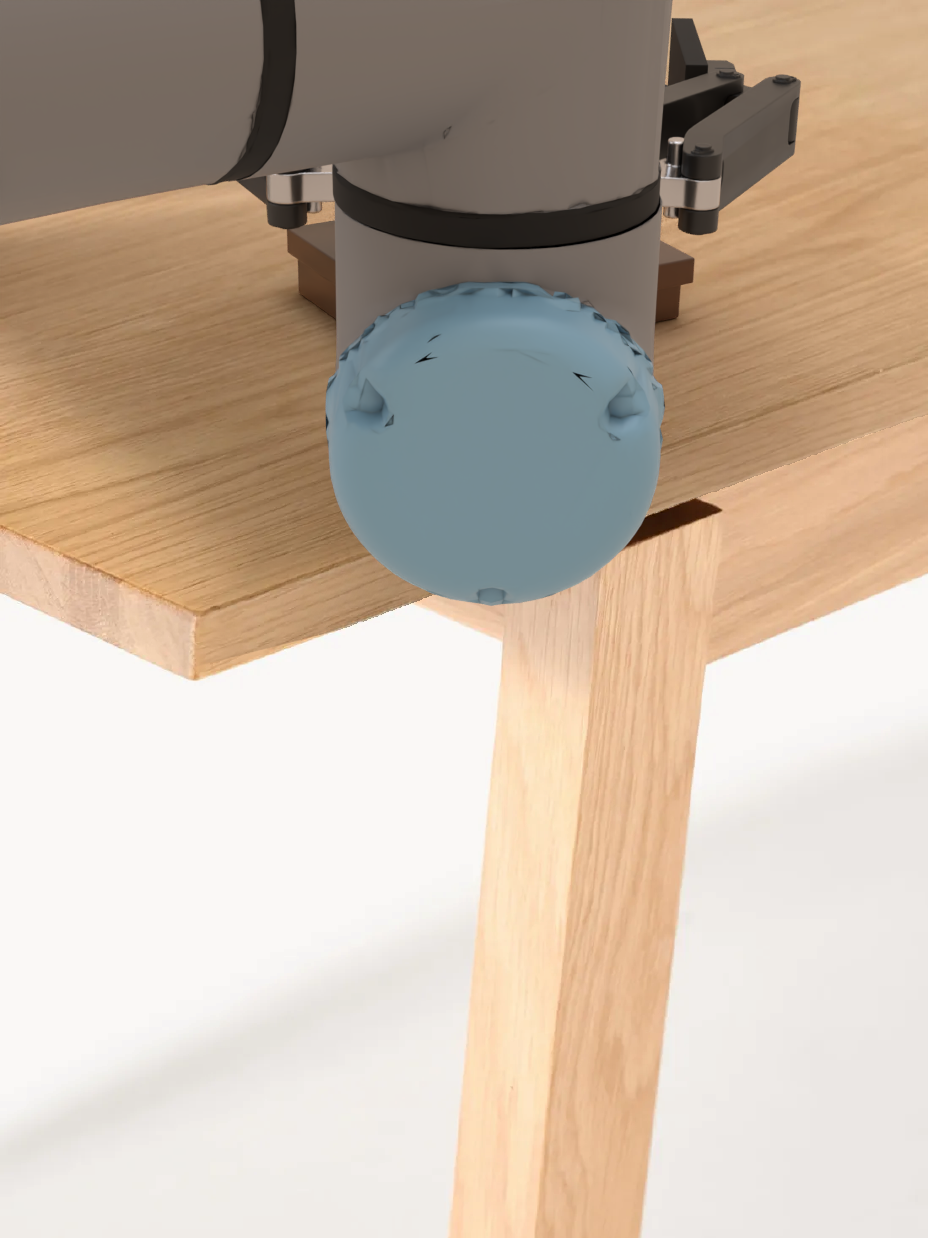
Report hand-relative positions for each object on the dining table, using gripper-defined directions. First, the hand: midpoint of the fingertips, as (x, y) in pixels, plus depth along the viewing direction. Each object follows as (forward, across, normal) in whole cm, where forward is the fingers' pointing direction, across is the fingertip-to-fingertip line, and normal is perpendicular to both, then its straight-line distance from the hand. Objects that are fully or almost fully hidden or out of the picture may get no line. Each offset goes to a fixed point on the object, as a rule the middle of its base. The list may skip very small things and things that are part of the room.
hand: (492, 51), depth 79 cm
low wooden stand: (-1, 0, -9) cm, 9 cm away
